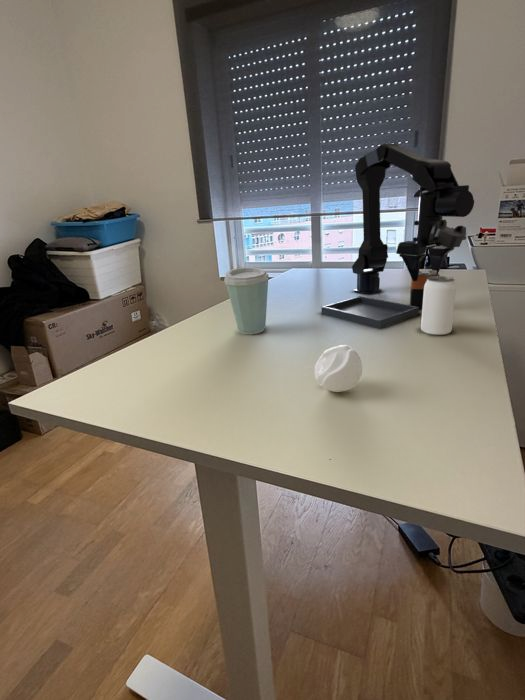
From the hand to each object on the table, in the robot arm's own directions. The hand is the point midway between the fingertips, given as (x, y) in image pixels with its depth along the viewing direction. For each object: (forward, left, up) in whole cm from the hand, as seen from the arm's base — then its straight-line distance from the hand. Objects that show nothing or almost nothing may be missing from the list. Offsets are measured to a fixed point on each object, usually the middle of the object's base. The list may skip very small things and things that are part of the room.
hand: (425, 278), depth 107 cm
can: (+13, -15, -8) cm, 22 cm away
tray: (-7, -14, -8) cm, 18 cm away
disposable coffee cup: (-19, -44, -8) cm, 49 cm away
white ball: (+18, -52, -8) cm, 56 cm away
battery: (0, 0, -8) cm, 8 cm away
